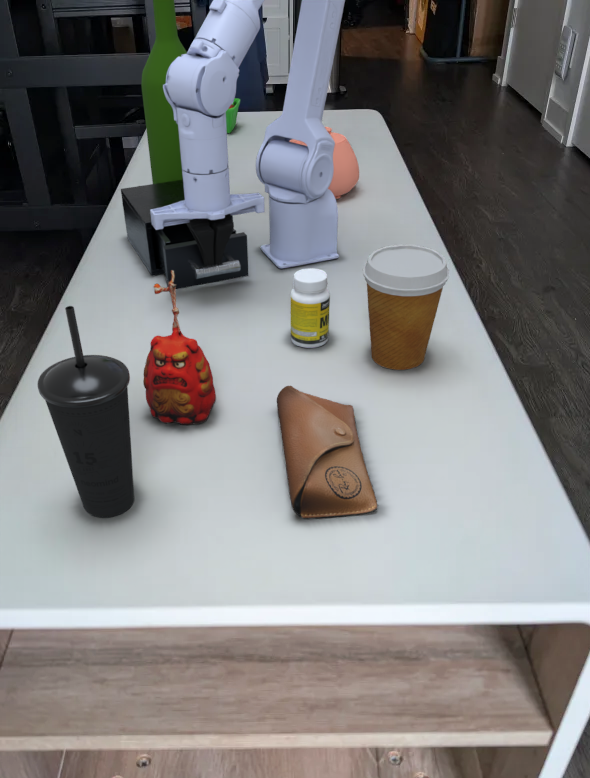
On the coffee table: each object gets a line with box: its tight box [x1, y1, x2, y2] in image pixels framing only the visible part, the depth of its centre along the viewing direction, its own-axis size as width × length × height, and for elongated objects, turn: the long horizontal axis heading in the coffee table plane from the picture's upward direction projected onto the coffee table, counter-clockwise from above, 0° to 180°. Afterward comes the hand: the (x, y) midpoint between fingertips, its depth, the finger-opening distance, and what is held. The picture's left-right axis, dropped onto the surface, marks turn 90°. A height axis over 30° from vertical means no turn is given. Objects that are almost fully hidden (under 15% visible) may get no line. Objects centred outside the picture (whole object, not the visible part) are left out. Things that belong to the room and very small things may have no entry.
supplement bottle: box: [290, 267, 331, 349], centre depth 96 cm, size 5×5×8 cm
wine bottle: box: [140, 0, 188, 184], centre depth 121 cm, size 9×9×32 cm
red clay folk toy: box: [143, 270, 217, 426], centre depth 82 cm, size 8×7×15 cm
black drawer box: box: [120, 180, 234, 277], centre depth 118 cm, size 15×13×8 cm
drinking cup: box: [37, 305, 135, 518], centre depth 69 cm, size 8×8×20 cm
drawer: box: [152, 223, 249, 290], centre depth 110 cm, size 18×11×6 cm, turn 21°
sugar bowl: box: [289, 126, 360, 200], centre depth 134 cm, size 12×14×10 cm
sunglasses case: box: [276, 385, 378, 519], centre depth 79 cm, size 18×7×7 cm
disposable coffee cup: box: [362, 244, 451, 371], centre depth 91 cm, size 10×10×12 cm
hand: (212, 272), depth 106 cm, fingers closed, pressing on drawer
